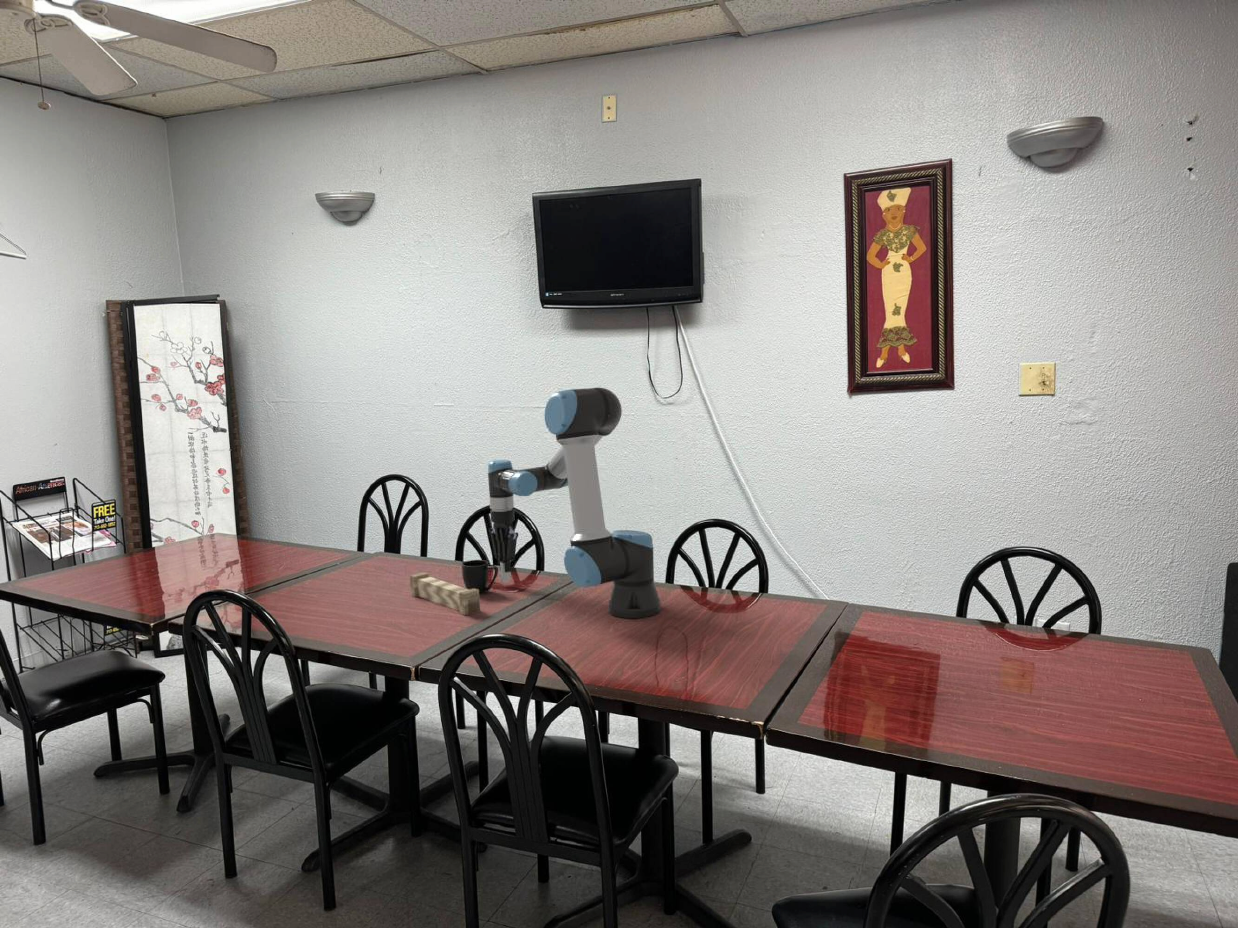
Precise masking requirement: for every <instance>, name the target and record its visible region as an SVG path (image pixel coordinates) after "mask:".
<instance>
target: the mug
mask: <svg viewBox="0 0 1238 928" xmlns="http://www.w3.org/2000/svg"><path fill="white" fill-rule="evenodd" d="M498 568H499V567H498V566H496V565H490V566H489V562H488V561H487V560H483V559H472V560H467V561H464V562H462V563H461V574H462V580H463V584H464V586H465V587H464V588H466V589H469V590H470V589H478V590H479V596H480V595H482V594H483V595H484V594H485V593H488V592H489V591H490V590H491V589H492V587H493V585H494V584H495V583H494V582H495V581H496V578H497V576H498V575H499V574H498V573H499V569H498ZM489 569H493V570H494V574H493V577H492V579H491V581H490V583H489V585H488V581H489Z"/></svg>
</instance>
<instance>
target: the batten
mask: <svg viewBox="0 0 1238 928" xmlns="http://www.w3.org/2000/svg"><path fill="white" fill-rule="evenodd" d="M409 581H410V596H412V597H414V598H417V597H420V598H423V599H426V600H428V601H431V602H433V603H436V604H439V605H441V606H445V607H447V608H450V609H454V610H456V611H459V612H460V615H462V616H467V615H471V614H474V613H479V612H481V604H480V603H481V602H480V595H479V590H478V589H470V590H469V589H466V587H462V586H459V585H456V584H453V583H450V582H447V581H444V580H441V579H438V578H435V577H432V576H429V573H428V572H425V571H424V572H419V573H415V574H412V575H409Z"/></svg>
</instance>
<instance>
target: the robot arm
mask: <svg viewBox="0 0 1238 928" xmlns="http://www.w3.org/2000/svg"><path fill="white" fill-rule="evenodd" d="M620 401H621V400H619V398H618V396H617V395H616V394H614V392H612V391H611V390H610V389H607V388H604V387H592V388H575V389H572V388H571V389H565V390H560V391H556V392H554V393H553V394H552V395H551V396H550V397H549V398H548V401H547V402H546V405H545V409H544V422H545V426H546V428H547V430H548V432H549V433H551V434H553V435H554V436H555V439H556V442H557V443H558V444H559V445H561V447H560V448H559V449H558V451H557V452H556V453H555V454H554V456H553V457H552V458H551V459H550V460H549V461H548V463H546V465H543V466H537V467H536V466H535V467H530V468H524V469H523V468H522V469H515V468H514V467H513V463H512V462H511V460H509V459H508V460H507V459H496V460H492V461H489V463H488V464H487V468H488V470H487V471H488V472H487V477H488V491H489V492H488V493H489V509H490V511H489V512H490V521H491V523H493V524H492V527H491V528H488V532H489V535H490V539H491V544H492V548H493V550H492V551H493V554H494V558H495V559H497V560H498V562H499V570H500V582H501V583H507V582H511V580H512V579H511V562H512V561H515V560H516V549H517V542H518V541H517V539H518V538H519V532H517V531H516V532H515V531H514V526H513V522H514V521H515V509H514V507H515V506H514V503H515V502H514V495H516V496H518V497H529V496H531V495H532V494H533V493H537V492H542V491H549V490H558V489H562V488H565V487H567V488H568V494H569V501H570V507H571V516H572V522H573V523H572V524H573V529H574V531H573V532H574V533H573V534H572V536H571V537H570V539H569V542H570V547H568V548H567V549H566V550H565V552H564V556H563V564H564V567H565V571H566V573H567V575H568V577H569V578H570V579H571V580H572V582H573V583H574V584H575V585H577V586H578V587H580V588H592V587H597V586H599V585H602V584H607V583H610V582H613V586H612V589H611V592H610V599H609V600H608V602H607V605H608V606H607V607H608V613H609V614H611V615H612V616H614V617H619V618H623V619H624V618H626V619H639V618H648V617H652V616H655V615H657V614H659V612H661V611H662V607H661V605H662V604H661V603H662V602H661V600H660V598H659V594H658V591H657V588H656V585H655V571H654V565H655V563H654V549H655V548H654V544H653V536H652V535H651V534H650V533H648V532H645V531H640V530H628V529H624V530H623V529H621V530H620V529H618V530H617V529H616V530H614V531H612V532H610V531H609V530H608V529H607V528H606V524H605V515H604V508H603V500H602V492H601V486H600V478H599V477H600V476H599V472H598V471H599V470H598V463H597V456H596V445H597V444H598V443H599V441H601V440H602V438H603V437H607V436H609V435H611V434H612V432H614V430H615V429H616V428H617V426H618V425H619V423H620V421H621V417H622V411H623V410H622V404H621V402H620Z"/></svg>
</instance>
